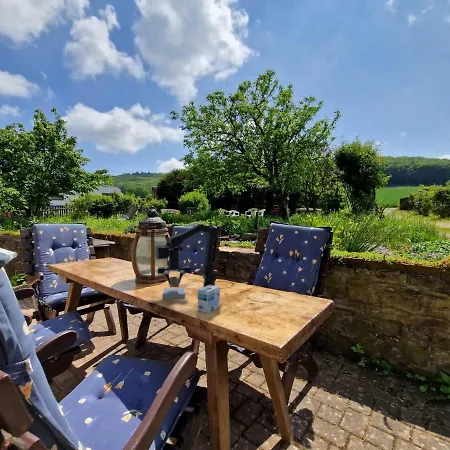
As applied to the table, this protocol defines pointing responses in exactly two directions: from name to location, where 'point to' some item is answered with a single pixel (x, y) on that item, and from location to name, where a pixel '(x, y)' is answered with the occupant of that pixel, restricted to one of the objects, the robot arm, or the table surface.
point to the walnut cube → (174, 282)
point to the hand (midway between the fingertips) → (174, 284)
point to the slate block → (174, 293)
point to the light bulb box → (208, 298)
